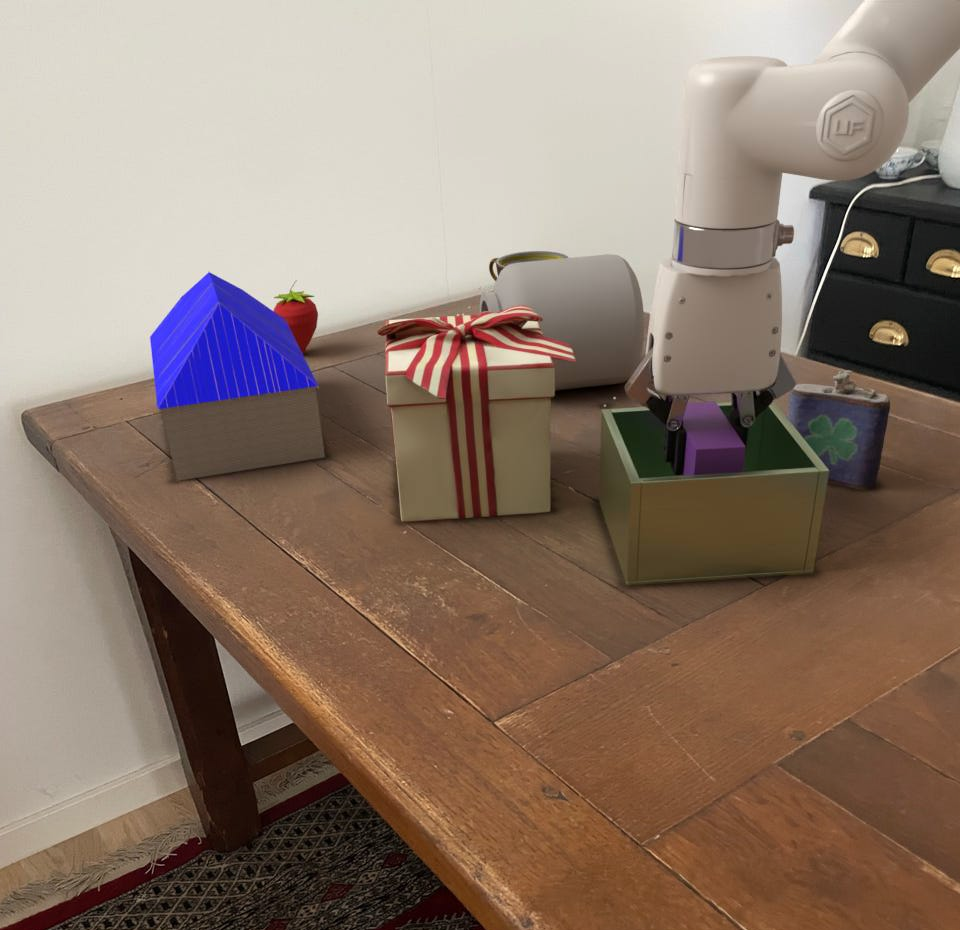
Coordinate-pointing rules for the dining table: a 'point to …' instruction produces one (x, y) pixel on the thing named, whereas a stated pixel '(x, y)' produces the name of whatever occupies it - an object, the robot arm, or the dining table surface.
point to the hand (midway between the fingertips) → (702, 465)
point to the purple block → (710, 441)
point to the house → (232, 384)
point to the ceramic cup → (522, 259)
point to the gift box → (471, 413)
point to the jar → (579, 313)
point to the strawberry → (298, 316)
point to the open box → (710, 503)
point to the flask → (842, 428)
